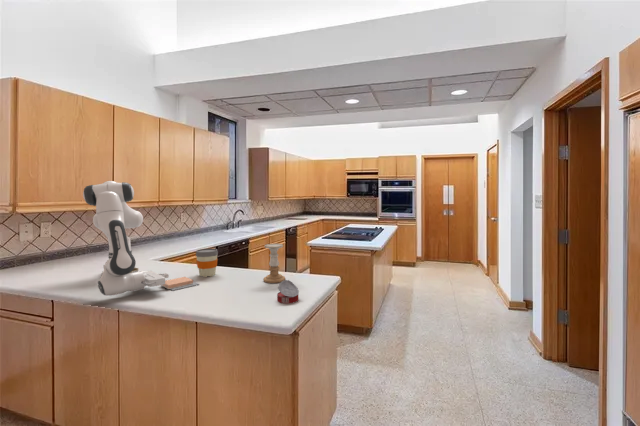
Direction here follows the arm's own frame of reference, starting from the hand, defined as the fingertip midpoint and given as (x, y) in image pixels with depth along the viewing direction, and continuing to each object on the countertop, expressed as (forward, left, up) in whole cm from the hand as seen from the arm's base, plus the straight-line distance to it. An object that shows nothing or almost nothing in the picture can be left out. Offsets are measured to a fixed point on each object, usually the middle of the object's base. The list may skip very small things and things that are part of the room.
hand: (167, 275), depth 166 cm
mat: (0, +6, -7) cm, 9 cm away
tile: (0, -2, -5) cm, 5 cm away
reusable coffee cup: (-8, +26, -7) cm, 28 cm away
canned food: (+61, +30, -7) cm, 68 cm away
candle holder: (+31, +46, -7) cm, 56 cm away
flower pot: (-19, -13, -7) cm, 24 cm away
